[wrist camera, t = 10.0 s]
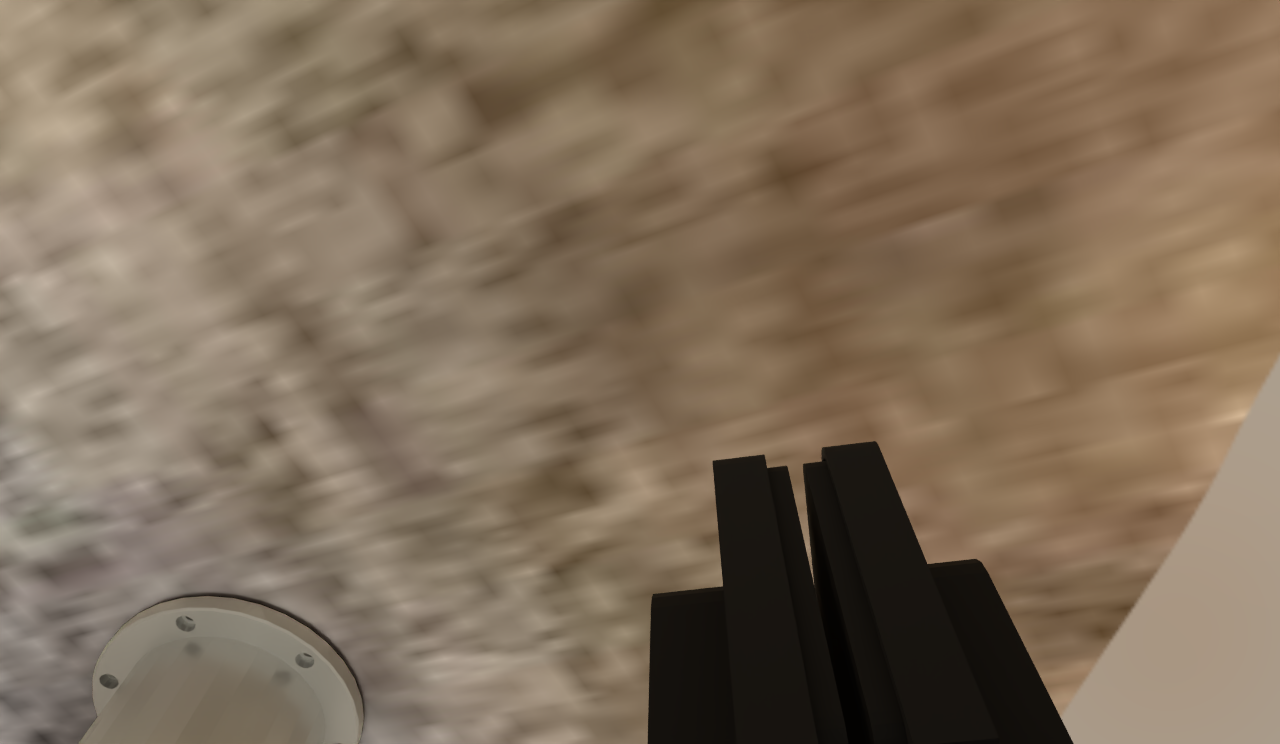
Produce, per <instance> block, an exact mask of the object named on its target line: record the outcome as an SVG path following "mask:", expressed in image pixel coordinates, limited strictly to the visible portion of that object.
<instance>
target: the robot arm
mask: <svg viewBox="0 0 1280 744" xmlns="http://www.w3.org/2000/svg"><path fill="white" fill-rule="evenodd" d="M713 472H714V484H715V495H716V507H717V519H718V530H719V542H720V554H721V566H722V577H723V587H714V588H705V589H696V590H686V591H677V592H668V593H659V594H653V596H652V603H651V631H650V672H649V713H648V744H1073V742H1072V740H1071V738H1070V736H1069V734H1068V732H1067V730H1066V728H1065V726H1064V724H1063V722H1062V720H1061V718H1060V716H1059V714H1058V712H1057V710H1056V708H1055V706H1054V704H1053V702H1052V700H1051V698H1050V696H1049V694H1048V692H1047V690H1046V688H1045V686H1044V684H1043V682H1042V680H1041V678H1040V676H1039V674H1038V672H1037V670H1036V668H1035V666H1034V664H1033V662H1032V660H1031V658H1030V656H1029V654H1028V652H1027V650H1026V648H1025V646H1024V644H1023V642H1022V640H1021V638H1020V636H1019V634H1018V632H1017V630H1016V628H1015V626H1014V624H1013V622H1012V620H1011V618H1010V616H1009V614H1008V612H1007V610H1006V608H1005V606H1004V604H1003V602H1002V600H1001V598H1000V596H999V594H998V592H997V590H996V588H995V586H994V584H993V582H992V580H991V578H990V576H989V574H988V572H987V570H986V569H985V567H984V566H983V564H982V562H980V561H979V560H977V559H971V560H961V561H952V562H943V563H934V564H927V562H926V560H925V557H924V555H923V552H922V550H921V547H920V545H919V543H918V540H917V538H916V535H915V533H914V530H913V528H912V526H911V523H910V521H909V518H908V516H907V513H906V511H905V509H904V506H903V504H902V501H901V499H900V496H899V494H898V492H897V489H896V487H895V484H894V482H893V479H892V477H891V475H890V472H889V470H888V467H887V465H886V462H885V460H884V458H883V455H882V453H881V450H880V448H879V446H878V444H877V442H875V441H873V442H865V443H856V444H848V445H840V446H831V447H823V448H822V462H815V463H806V464H803V473H804V484H805V494H806V504H807V515H808V525H809V535H810V546H811V556H812V566H813V577H814V583H813V579H812V574H811V570H810V565H809V561H808V556H807V552H806V548H805V543H804V539H803V534H802V530H801V525H800V521H799V516H798V512H797V507H796V503H795V498H794V494H793V490H792V485H791V481H790V476H789V472H788V468H787V466H781V467H773V468H767V465H766V460H765V455H757V456H748V457H740V458H732V459H724V460H715V461H713ZM814 587H815V588H814ZM92 699H93V703H94V706H95V710H96V714H97V718H96V720H95V721H94V723H93V724H92V725H91V727H90V728H89V729H88V731H87V732H86V734H85V735H84V736H83V738H82V739H81V740H80V742H79V743H78V744H358V743H359V741H360V738H361V734H362V727H363V721H364V715H363V705H362V698H361V695H360V692H359V690H358V687H357V684H356V681H355V679H354V677H353V676H352V674H351V672H350V671H349V669H348V667H347V666H346V664H345V662H344V661H343V660H342V659H341V657H340V656H339V655H338V654H337V653H336V652H335V651H334V650H333V649H332V647H331V646H330V645H329V644H328V643H327V642H326V641H324V640H323V639H322V638H321V637H319V636H318V635H317V634H316V633H314V632H313V631H312V630H311V629H309V628H308V627H306V626H305V625H303V624H301V623H299V622H298V621H296V620H294V619H292V618H291V617H289V616H287V615H285V614H283V613H280V612H278V611H275V610H273V609H270V608H268V607H265V606H263V605H260V604H256V603H252V602H247V601H243V600H239V599H235V598H225V597H213V596H201V597H187V598H180V599H176V600H172V601H168V602H164V603H160V604H157V605H155V606H153V607H151V608H149V609H147V610H144V611H142V612H140V613H138V614H137V615H136V616H135V617H133V618H132V619H131V620H129V621H128V622H127V623H125V624H124V625H123V626H122V627H121V628H120V630H119V631H118V632H117V633H116V634H115V636H114V637H113V638H112V639H111V640H110V642H109V643H108V644H107V645H106V647H105V649H104V650H103V652H102V654H101V655H100V657H99V659H98V661H97V663H96V667H95V670H94V673H93V678H92Z"/></svg>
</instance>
